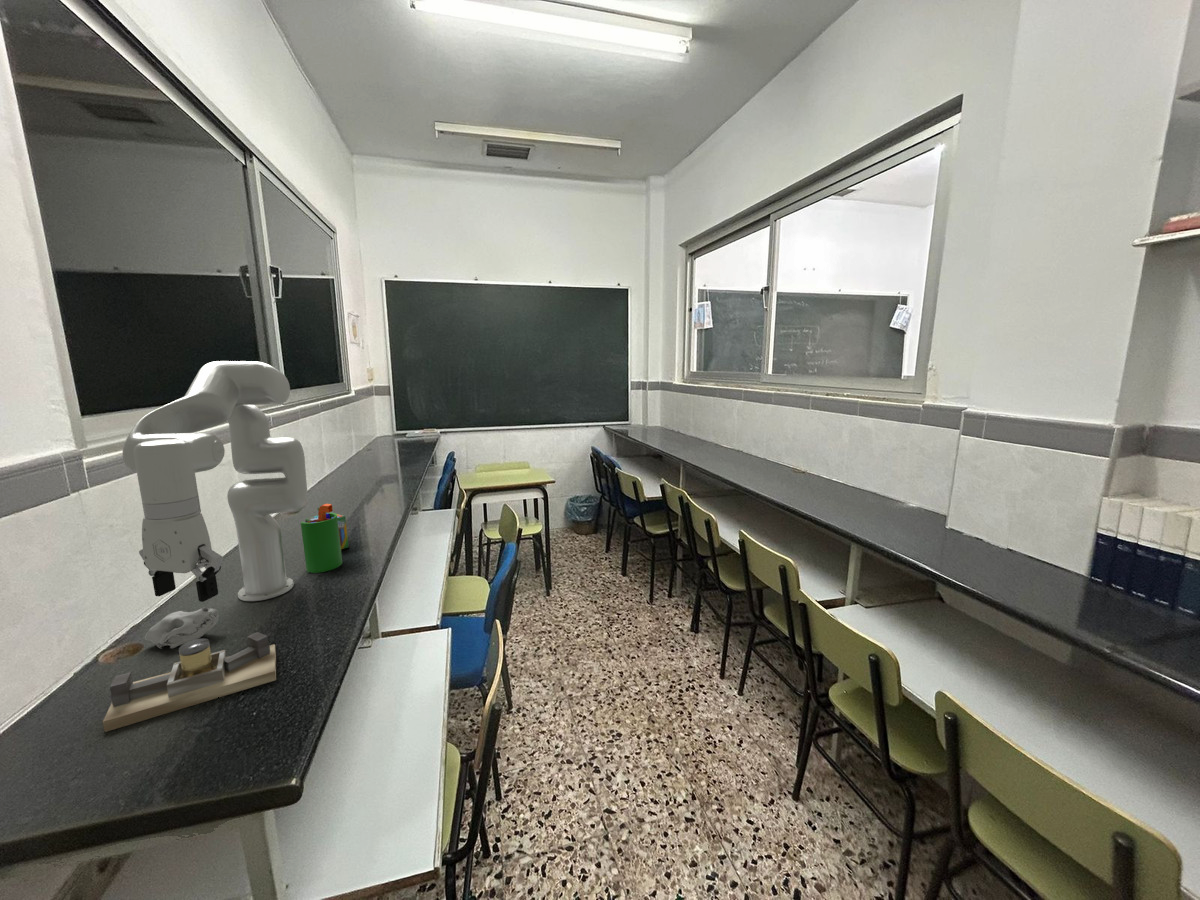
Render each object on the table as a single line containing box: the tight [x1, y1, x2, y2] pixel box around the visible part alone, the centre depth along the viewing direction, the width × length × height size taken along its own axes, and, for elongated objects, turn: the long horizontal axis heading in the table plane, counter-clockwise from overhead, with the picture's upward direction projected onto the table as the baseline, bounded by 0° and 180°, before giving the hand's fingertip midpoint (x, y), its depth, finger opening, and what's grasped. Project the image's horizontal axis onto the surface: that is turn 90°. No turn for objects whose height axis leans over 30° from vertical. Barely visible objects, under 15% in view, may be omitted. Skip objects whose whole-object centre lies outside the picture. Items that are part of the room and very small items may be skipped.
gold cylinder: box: [178, 638, 213, 678], centre depth 89 cm, size 4×4×7 cm
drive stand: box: [102, 631, 277, 733], centre depth 90 cm, size 11×24×6 cm, turn 125°
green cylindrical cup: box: [300, 503, 343, 574], centre depth 144 cm, size 10×9×20 cm
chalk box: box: [304, 507, 350, 551], centre depth 158 cm, size 9×9×15 cm
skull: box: [144, 607, 220, 649], centre depth 105 cm, size 8×9×12 cm
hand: (187, 595), depth 87 cm, fingers open, 9 cm apart
